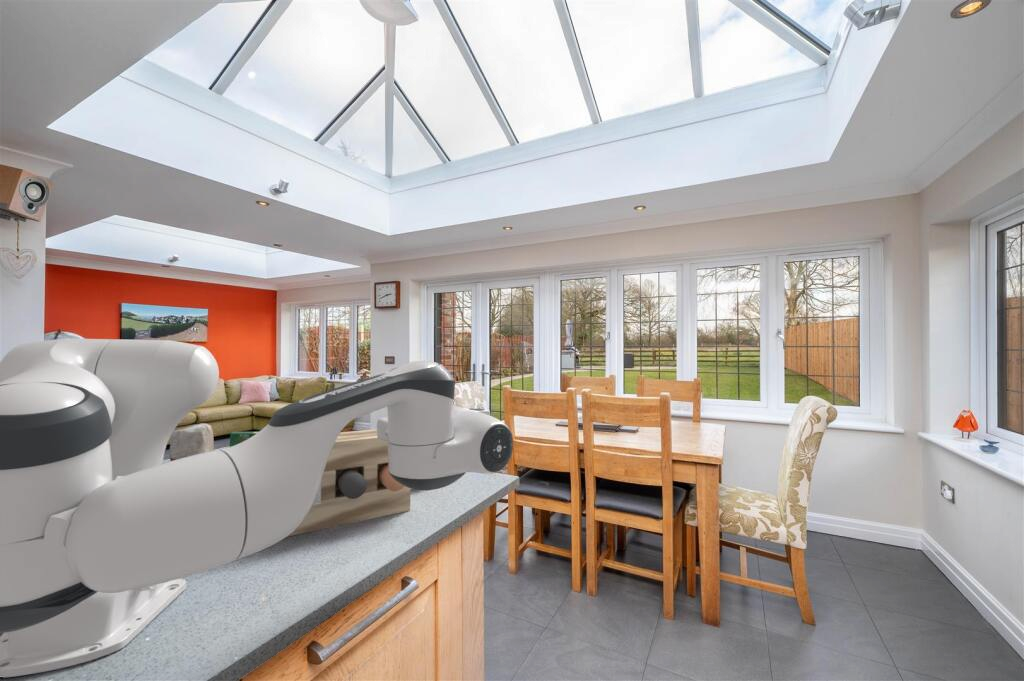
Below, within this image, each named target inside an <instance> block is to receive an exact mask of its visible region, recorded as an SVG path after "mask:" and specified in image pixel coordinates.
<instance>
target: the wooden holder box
mask: <svg viewBox="0 0 1024 681" xmlns="http://www.w3.org/2000/svg"><path fill="white" fill-rule="evenodd" d="M386 464H388V442H387V441H384V440H381V439H379V438H378V437H377V428H375V429H374V428H373V429H363V430H351V431H341V432H340V434H339V435H338V437H337V439H336V441H335V443H334V445H333V448H332V450H331V452H330V455H329V458H328V460H327V463H326V466H325V470H324V473H323V477H322V480H321V504H317V505H312V507H311V509H310V511H309V512H308V514H307V515H306V517H305V518H304V520H303V521H302V522H301V523H300V525H299V526H298V527H297V528H296V529H295V530H294V531H293V532H292V533H291V534H289V535H288V536H287V537H291V536H296V535H300V534H306V533H311V532H314V531H319V530H324V529H328V528H333V527H337V526H338V527H339V526H343V525H347V524H352V523H357V522H360V521H361V522H362V521H366V520H370V519H376V518H380V517H385V516H389V515H395V514H399V513H404V512H409V511H411V490H412V489H411V488H408V487H406V486H404V487H403V488H402V489H401V490H398V491H391V490H389V489H388V488H386V487H385V486H384V485H383V484H381V483H380V481H379V479H378V473H379V470H380V469H381V468H382V467H383V466H384V465H386ZM347 469H354V470H356V471H357V472H359V473H360V474H361V475H362V476H363V477H364V478H365V479H366V481H367V488H366V491H365V492H364V494H363V495H362V496H360V497H358V498H356V499H350V498H347V497H346V496H345V495H344V494H343V493H342V492H341V491H340V490H339V488H338V487H337V479H338V476H339V475H340V474H341V473H342V472H343V471H345V470H347Z"/></svg>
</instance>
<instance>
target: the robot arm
mask: <svg viewBox="0 0 1024 681" xmlns="http://www.w3.org/2000/svg"><path fill="white" fill-rule="evenodd" d="M219 378H220V369H219V364H218V362H217V360H216V358H215V357H214V355H213V354H212V353H211V351H209V349H208V348H206V347H205V346H202V345H197V344H193V343H188V342H182V341H176V340H170V339H127V338H126V339H122V338H121V339H116V338H114V339H112V338H110V339H109V338H71V337H70V338H69V337H68V338H57V339H49V340H48V339H47V340H41V341H34V342H27V343H22V344H19V345H17V346H14V347H13V348H12V349H11V350H10V351H8V352H7V353H6V354H5V355H4V356H3V358H1V360H0V634H2V635H0V676H4V677H3V678H11V677H12V678H13V677H20V676H26V675H32V674H39V673H45V672H49V671H53V670H59V669H63V668H66V667H72V666H76V665H79V664H83V663H86V662H90V661H93V660H96V659H99V658H101V657H105V656H107V655H110V654H112V653H114V652H117V651H120V650H121V649H123V648H124V647H125V646H127V645H128V644H129V643H130V642H131V641H132V640H133V639H134V638H135V637H137V636H138V634H139V633H141V632H142V631H143V630H144V629H145V628H147V626H148V625H149V624H150V623H151V622H152V621H154V619H155V618H156V617H157V616H158V615H160V613H162V612H163V611H164V610H165V609H166V608H167V607H168V606H169V605H170V604H171V603H172V602H174V600H176V598H177V597H179V596H180V595H181V593H183V592H184V591H185V590H186V589H187V581H186V580H185V579H184V578H186V577H190V576H193V575H196V574H199V573H202V572H203V573H204V572H206V571H209V570H212V569H215V568H218V567H221V566H223V565H226V564H229V563H231V562H234V561H237V560H239V559H243V558H245V557H248V556H250V555H252V554H255V553H258V552H260V551H263V550H265V549H266V548H267V549H268V548H269V547H271V546H273V545H275V544H277V543H279V542H280V541H282V540H284V539H285V538H286V537H289V536H288V535H289V534H291V533H292V532H293V531H294V530H295V529H296V528H297V527H298V526H299V525H300V523H301V522H302V521H303V520H304V518H305V517H306V515H307V514H308V512H309V511H310V509H311V507H312V505H313V503H314V501H315V499H316V497H317V494H318V491H319V488H320V484H321V480H322V477H323V473H324V470H325V466H326V463H327V460H328V458H329V455H330V452H331V450H332V448H333V445H334V443H335V441H336V439H337V437H338V435H339V434H340V432H343V430H344V428H346V426H347V425H348V424H350V422H352V421H354V420H356V419H358V418H361V417H364V416H366V415H369V414H371V413H374V412H376V411H379V410H382V409H384V408H385V409H386V408H387V416H386V417H385V416H384V417H379V418H378V419H377V422H376V429H377V437H378V438H379V439H381V440H384V441H387V442H388V466H389V474H390V475H391V476H392V477H393V478H394V479H395V480H396V481H398V482H399V483H401V484H402V485H404V486H406V487H408V488H411V490H417V491H433V490H434V491H435V490H439V489H442V488H446V487H447V486H450V485H451V484H453V483H456V482H457V481H458V480H460V479H461V478H462V477H463V476H464V475H465V474H466V473H479V474H485V475H492V474H496V473H499V472H501V471H503V470H504V469H505V468H506V467H507V465H508V464H509V462H510V460H511V459H512V455H513V450H514V439H513V433H512V430H511V429H510V428H509V426H508V425H507V424H506V423H504V422H503V421H501V420H500V419H498V418H496V417H494V416H492V415H491V410H490V409H488V408H472V407H471V408H467V407H463V406H456V405H454V400H455V393H456V392H455V390H456V389H455V388H456V379H455V378H454V377H453V375H452V374H451V372H449V370H448V369H447V368H446V367H445V366H444V365H443V364H441V363H440V362H436V361H432V360H431V361H430V360H415V361H411V362H407V363H404V364H402V365H399V366H398V367H395V368H392V369H390V370H387V371H384V372H382V373H380V374H376V375H374V376H370V377H368V378H364V379H360V380H357V381H355V382H354V381H353V382H351V383H348V384H343V385H342V386H337V387H335V388H332V389H328V390H326V391H322V392H319V393H316V394H313V395H310V396H308V397H304V398H302V399H299V400H296V401H294V402H291V403H289V404H287V405H285V406H282V407H281V408H280V409H277V410H276V411H274V413H273V414H272V415H271V418H270V420H269V421H268V424H267V425H265V426H264V427H263V428H261V430H259V431H257V432H258V433H257V434H255V435H254V436H252V437H251V438H249V439H247V440H245V441H243V442H241V443H239V444H237V445H234V446H232V447H230V446H228V447H225V448H221V449H215V450H214V451H210V452H206V453H201V454H197V455H193V456H189V457H185V458H181V459H177V460H173V461H166V462H164V459H165V453H166V452H165V451H166V449H167V445H168V443H169V440H170V439H171V435H172V433H173V431H175V430H176V428H177V426H178V425H179V424H180V422H181V421H182V420H183V419H184V418H185V417H186V416H188V414H190V413H191V412H193V411H194V410H195V409H197V408H198V407H200V406H202V405H203V404H204V403H205V402H206V401H208V399H209V398H210V397H212V395H213V394H214V392H215V390H216V388H217V387H218V384H219Z"/></svg>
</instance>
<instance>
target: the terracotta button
mask: <svg viewBox="0 0 1024 681" xmlns="http://www.w3.org/2000/svg"><path fill="white" fill-rule="evenodd" d="M378 479H379V481H380V483H381V484H383V485H384V486H385V487H386V488H388V489H389V490H391V491H398V490H401V489H402V488H403V487H404V485H402V484H401V483H399V482H398V481H396V480H395V479H394V478H393V477H392V476H391V475H390V474H389V466H388V464H386V465H384V466H383V467H382V468H381V469H380V470H379V473H378Z"/></svg>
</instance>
